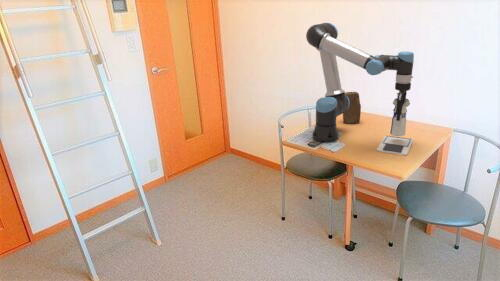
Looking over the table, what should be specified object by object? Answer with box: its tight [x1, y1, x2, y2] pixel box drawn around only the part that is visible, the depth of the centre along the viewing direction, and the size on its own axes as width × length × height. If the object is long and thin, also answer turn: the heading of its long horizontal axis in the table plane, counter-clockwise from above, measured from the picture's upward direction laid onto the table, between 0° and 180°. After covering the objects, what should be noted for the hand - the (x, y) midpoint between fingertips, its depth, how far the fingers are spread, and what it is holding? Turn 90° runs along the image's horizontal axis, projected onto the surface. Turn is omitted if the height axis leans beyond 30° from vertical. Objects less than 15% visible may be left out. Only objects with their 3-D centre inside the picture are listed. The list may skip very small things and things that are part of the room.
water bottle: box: [390, 92, 411, 137], centre depth 193 cm, size 8×9×25 cm
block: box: [342, 91, 362, 125], centre depth 232 cm, size 11×8×20 cm
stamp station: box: [376, 135, 414, 157], centre depth 196 cm, size 15×22×1 cm
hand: (399, 123), depth 196 cm, fingers closed on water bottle, 7 cm apart
